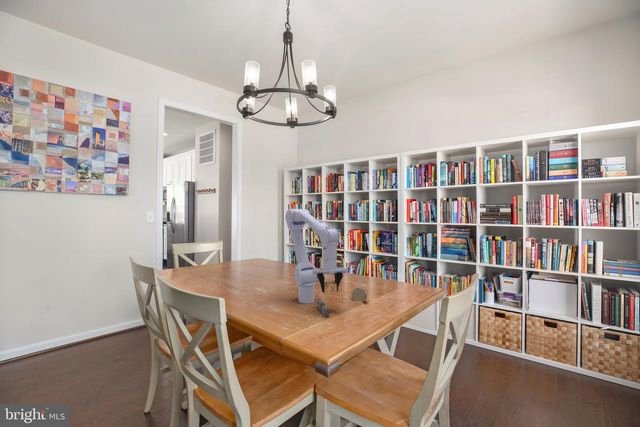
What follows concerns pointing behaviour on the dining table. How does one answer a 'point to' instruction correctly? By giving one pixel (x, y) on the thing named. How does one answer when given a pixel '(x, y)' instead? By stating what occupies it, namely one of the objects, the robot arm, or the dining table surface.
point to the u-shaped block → (333, 287)
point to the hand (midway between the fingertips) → (329, 291)
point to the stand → (323, 308)
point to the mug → (359, 294)
